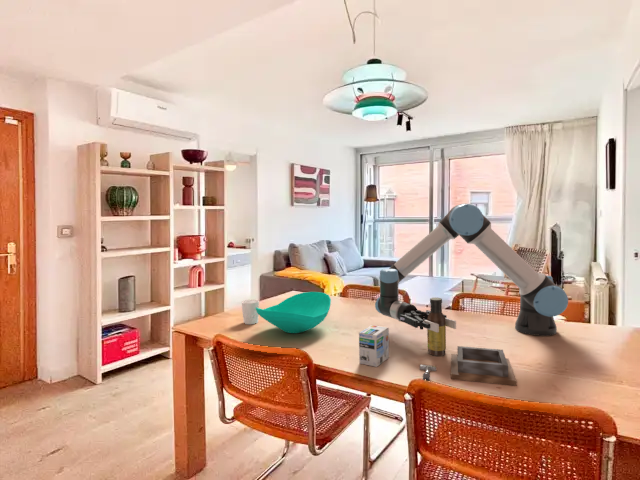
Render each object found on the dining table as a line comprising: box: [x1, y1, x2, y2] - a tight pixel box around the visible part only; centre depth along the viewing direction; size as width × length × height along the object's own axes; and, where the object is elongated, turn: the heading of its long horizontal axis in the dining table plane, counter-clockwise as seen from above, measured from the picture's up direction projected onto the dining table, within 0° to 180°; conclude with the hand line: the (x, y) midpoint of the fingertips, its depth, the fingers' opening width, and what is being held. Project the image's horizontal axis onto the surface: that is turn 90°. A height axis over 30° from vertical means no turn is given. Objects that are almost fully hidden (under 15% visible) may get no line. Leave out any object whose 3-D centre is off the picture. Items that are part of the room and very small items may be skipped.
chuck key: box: [419, 364, 437, 381], centre depth 126 cm, size 9×5×2 cm, turn 162°
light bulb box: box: [358, 324, 390, 368], centre depth 138 cm, size 11×7×11 cm, turn 148°
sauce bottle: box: [426, 297, 447, 357], centre depth 143 cm, size 6×6×20 cm
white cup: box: [241, 299, 260, 325], centre depth 189 cm, size 8×8×10 cm
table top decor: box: [256, 291, 332, 334], centre depth 174 cm, size 40×28×13 cm
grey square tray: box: [450, 345, 518, 387], centre depth 128 cm, size 18×18×5 cm
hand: (446, 326), depth 139 cm, fingers open, 7 cm apart
